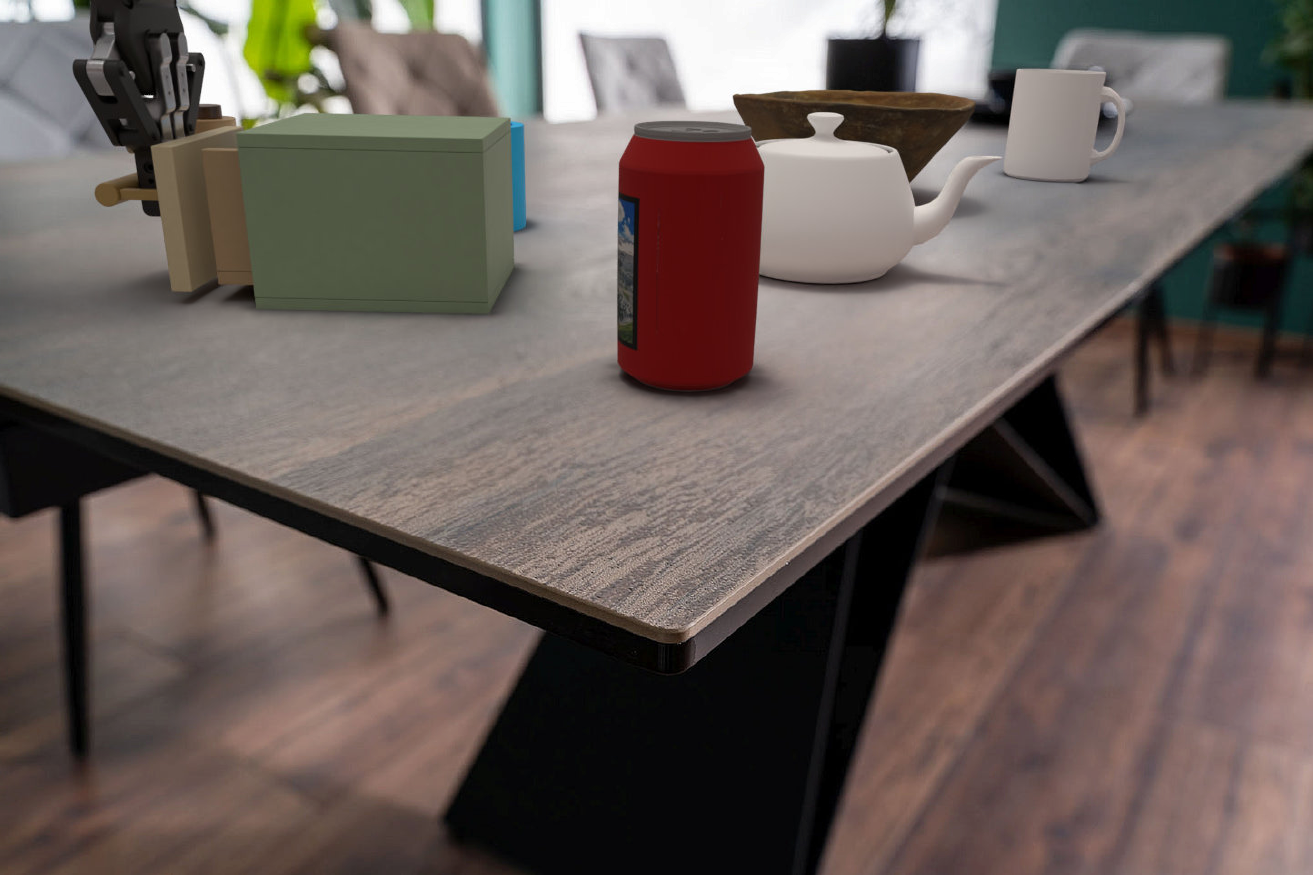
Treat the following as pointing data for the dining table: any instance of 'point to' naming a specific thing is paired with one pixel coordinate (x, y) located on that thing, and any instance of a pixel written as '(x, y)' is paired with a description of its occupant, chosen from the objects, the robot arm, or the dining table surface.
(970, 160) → the teapot
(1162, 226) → the dining table surface
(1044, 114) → the mug
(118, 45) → the robot arm
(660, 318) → the beverage can
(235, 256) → the drawer
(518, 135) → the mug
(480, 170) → the cabinet
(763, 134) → the bowl
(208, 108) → the pepper mill
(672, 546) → the dining table surface
